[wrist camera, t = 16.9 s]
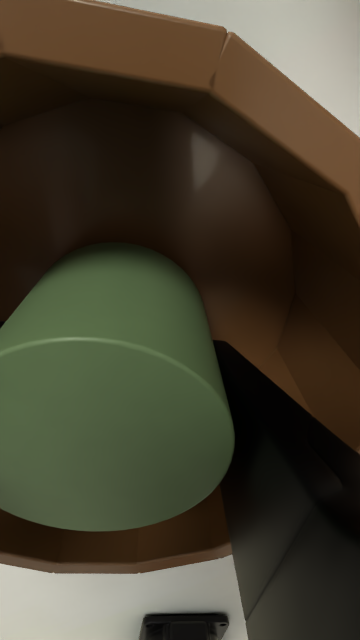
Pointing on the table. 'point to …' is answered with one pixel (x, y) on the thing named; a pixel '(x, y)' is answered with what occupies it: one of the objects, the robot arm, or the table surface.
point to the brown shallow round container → (180, 218)
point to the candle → (110, 394)
